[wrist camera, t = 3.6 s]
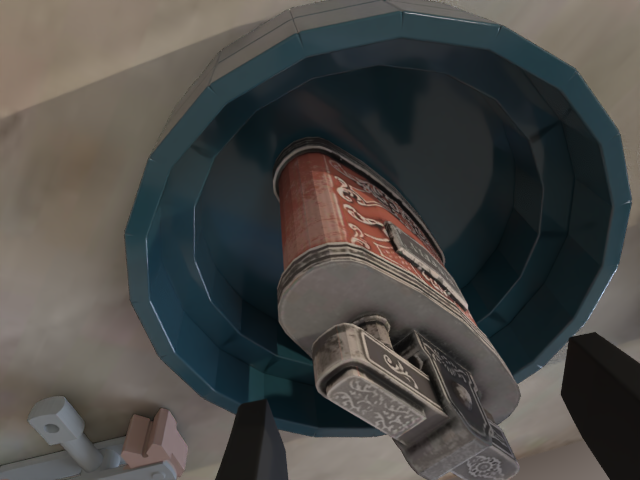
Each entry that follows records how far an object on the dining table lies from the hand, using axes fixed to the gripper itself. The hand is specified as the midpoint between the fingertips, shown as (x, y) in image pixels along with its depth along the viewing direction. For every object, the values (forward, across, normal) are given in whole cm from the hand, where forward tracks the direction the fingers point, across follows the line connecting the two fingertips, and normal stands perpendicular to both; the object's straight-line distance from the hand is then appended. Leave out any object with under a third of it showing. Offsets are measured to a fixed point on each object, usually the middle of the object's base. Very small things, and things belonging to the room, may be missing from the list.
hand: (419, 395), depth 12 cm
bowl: (+9, 0, 0) cm, 9 cm away
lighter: (+9, 0, 0) cm, 9 cm away
